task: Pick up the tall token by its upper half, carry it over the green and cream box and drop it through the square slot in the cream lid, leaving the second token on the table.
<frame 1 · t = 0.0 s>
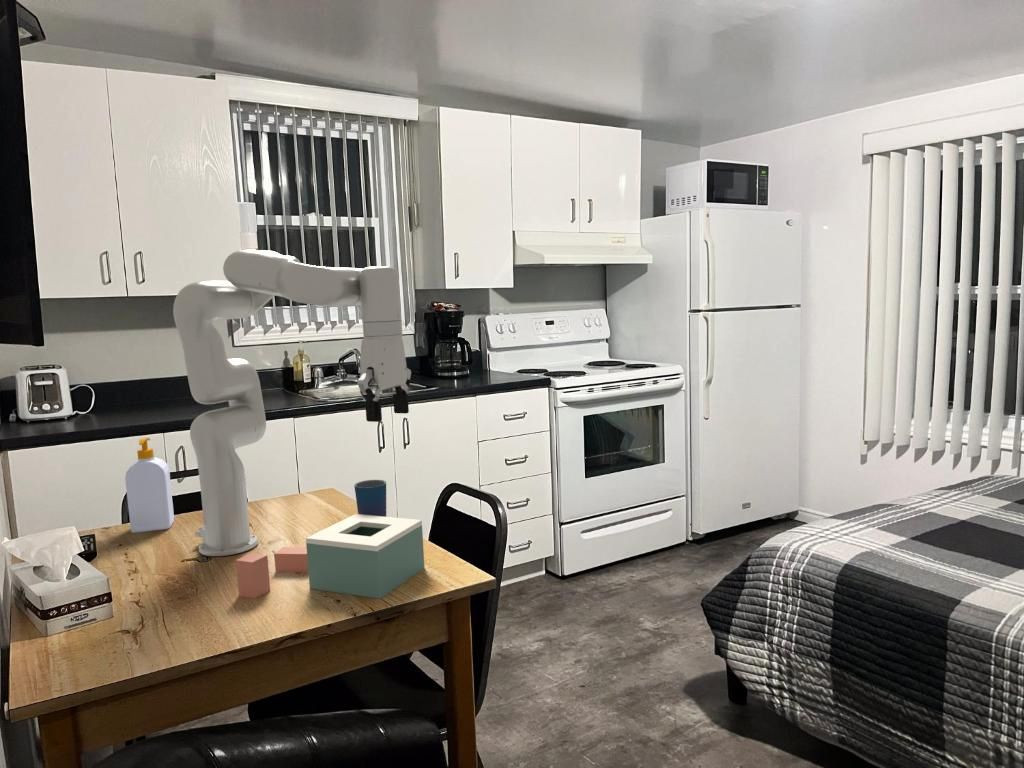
hand: (388, 417, 145), 31 cm above the table, fingers open, 9 cm apart
soap bottle: (153, 528, 185), on the table
green and cream box: (368, 577, 145), on the table
token: (254, 593, 140), on the table
cup: (374, 551, 161), on the table
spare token: (296, 569, 152), on the table
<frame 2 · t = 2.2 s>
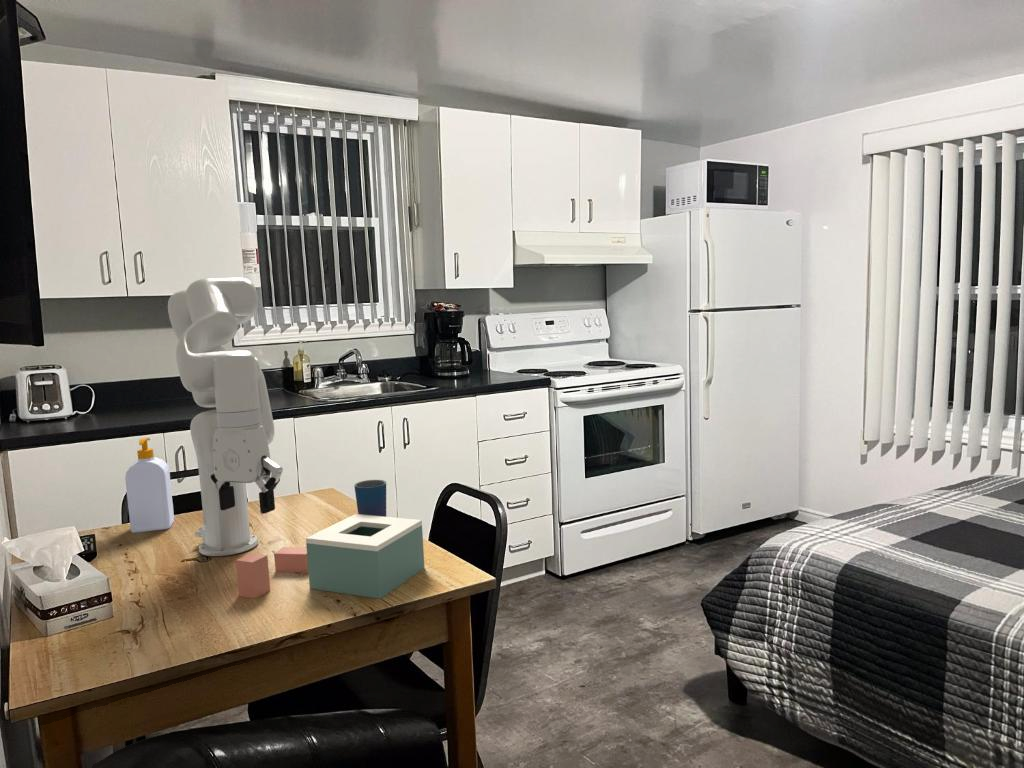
hand: (247, 510, 138), 16 cm above the table, fingers open, 9 cm apart
nothing on the table moved.
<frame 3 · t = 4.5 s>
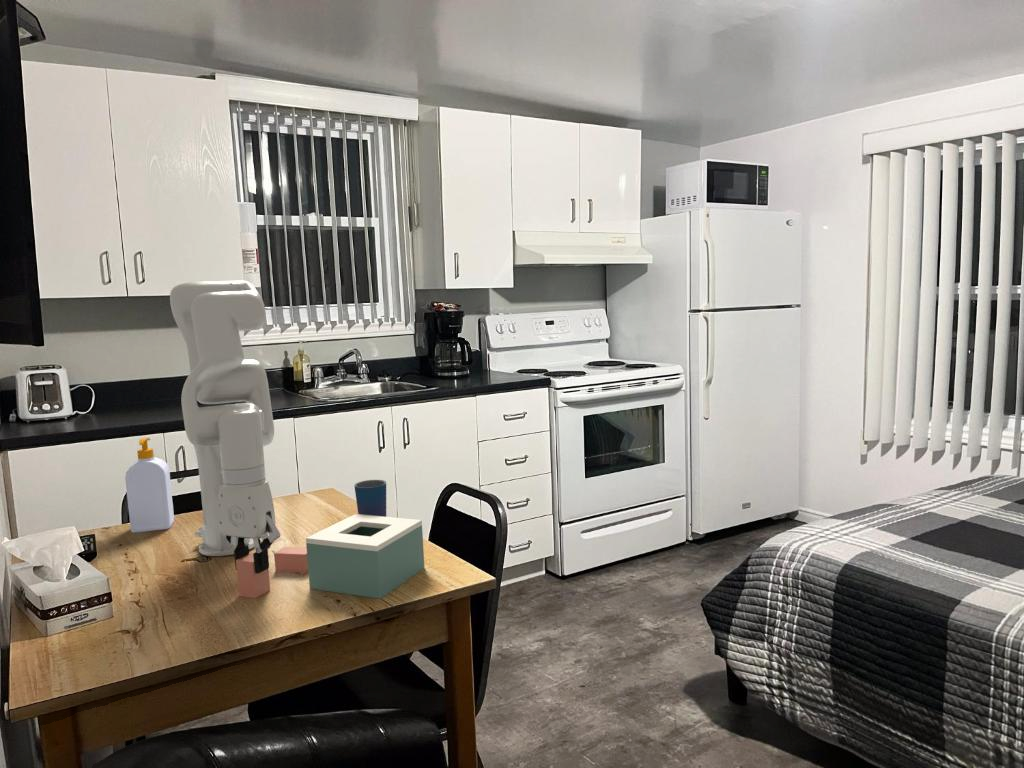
hand: (252, 568, 139), 5 cm above the table, fingers closed on token, 4 cm apart
token: (254, 593, 140), on the table, touching gripper
everything else where it was.
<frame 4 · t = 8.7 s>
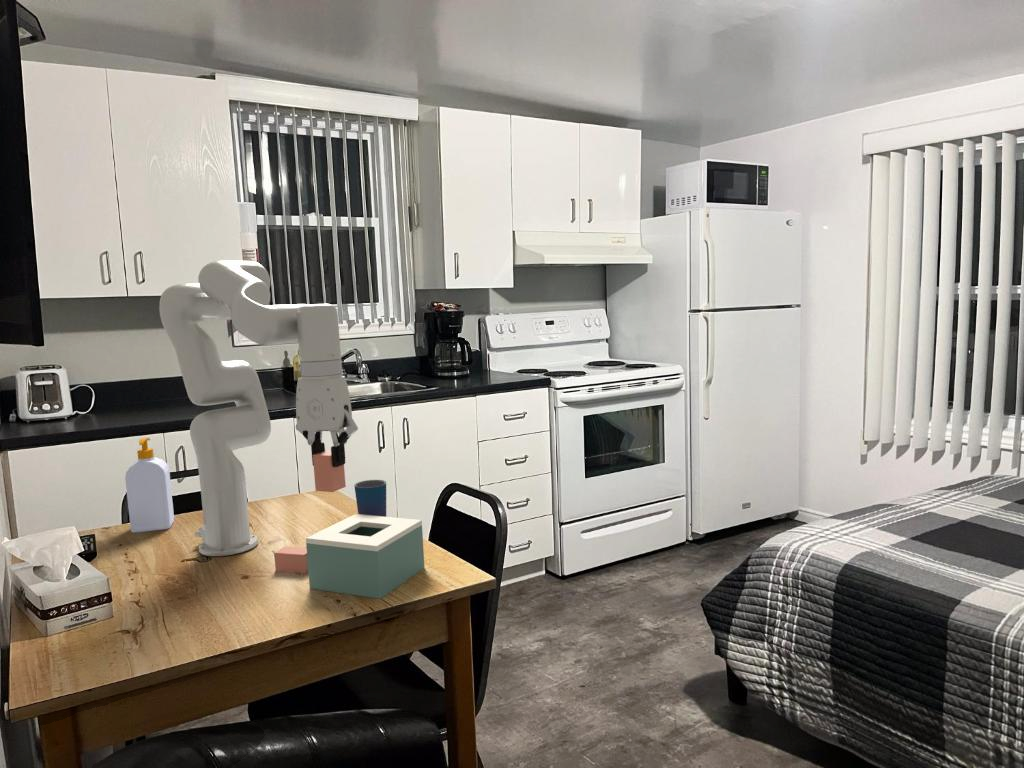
hand: (329, 464, 141), 24 cm above the table, fingers closed on token, 4 cm apart
token: (330, 488, 141), point 19 cm above the table, touching gripper
everything else where it was.
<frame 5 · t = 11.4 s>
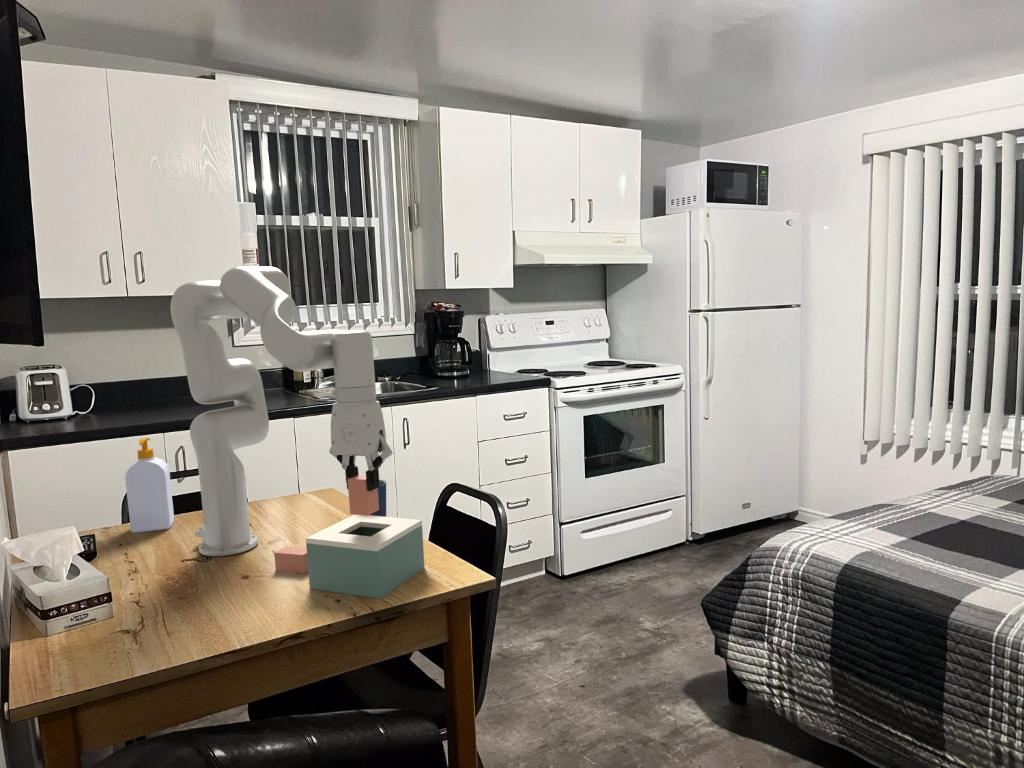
hand: (363, 487, 143), 18 cm above the table, fingers closed on token, 4 cm apart
token: (364, 511, 143), point 13 cm above the table, touching gripper
everything else where it was.
when the fingers open (16 cm above the table, at t = 13.2 s): token drops 9 cm and tips over, resting on green and cream box.
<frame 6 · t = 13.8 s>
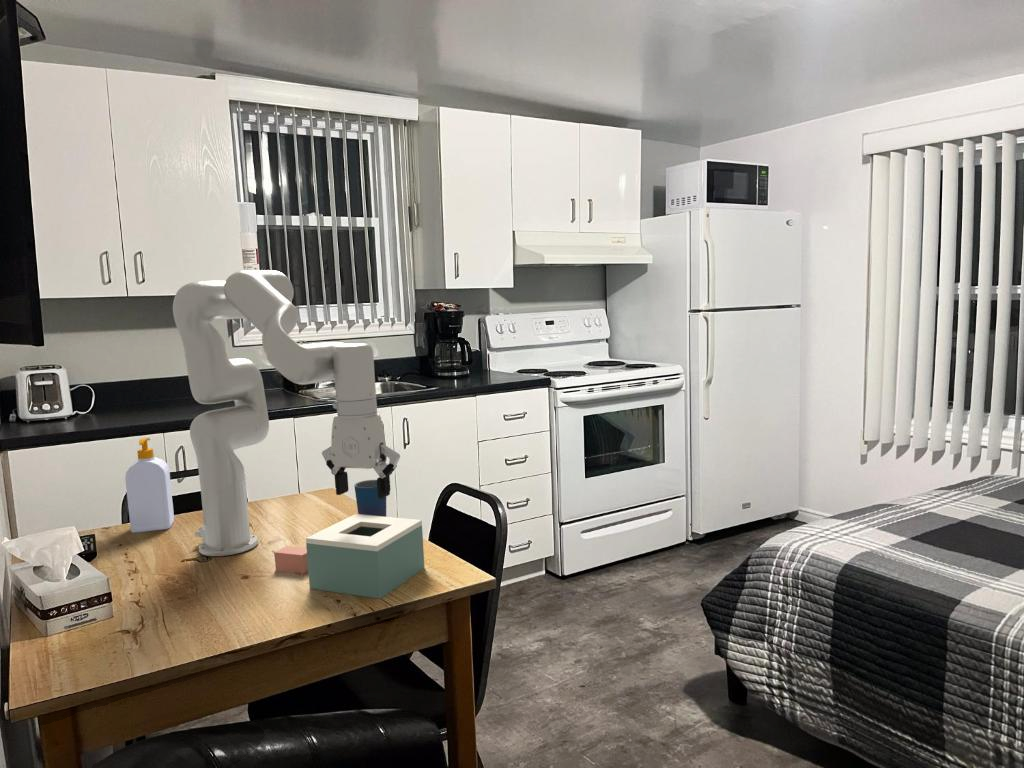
hand: (363, 494, 143), 17 cm above the table, fingers open, 9 cm apart
token: (371, 568, 144), point 2 cm above the table, tilted 44°, touching green and cream box
everything else where it was.
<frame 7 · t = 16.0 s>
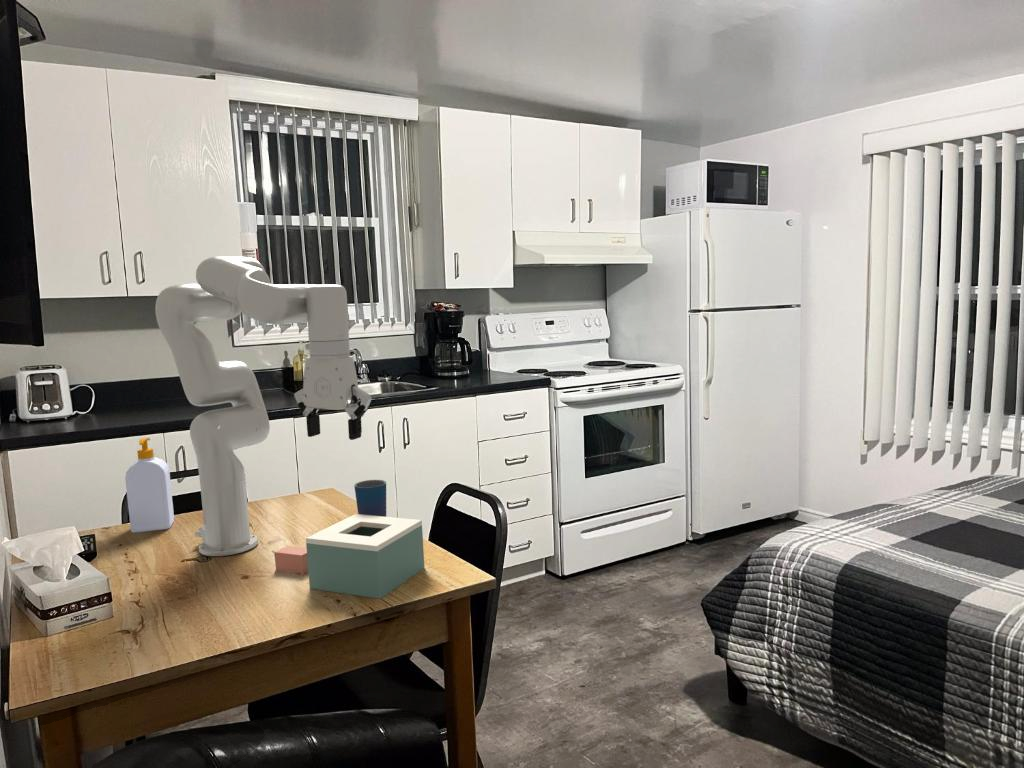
hand: (334, 437, 143), 28 cm above the table, fingers open, 9 cm apart
nothing on the table moved.
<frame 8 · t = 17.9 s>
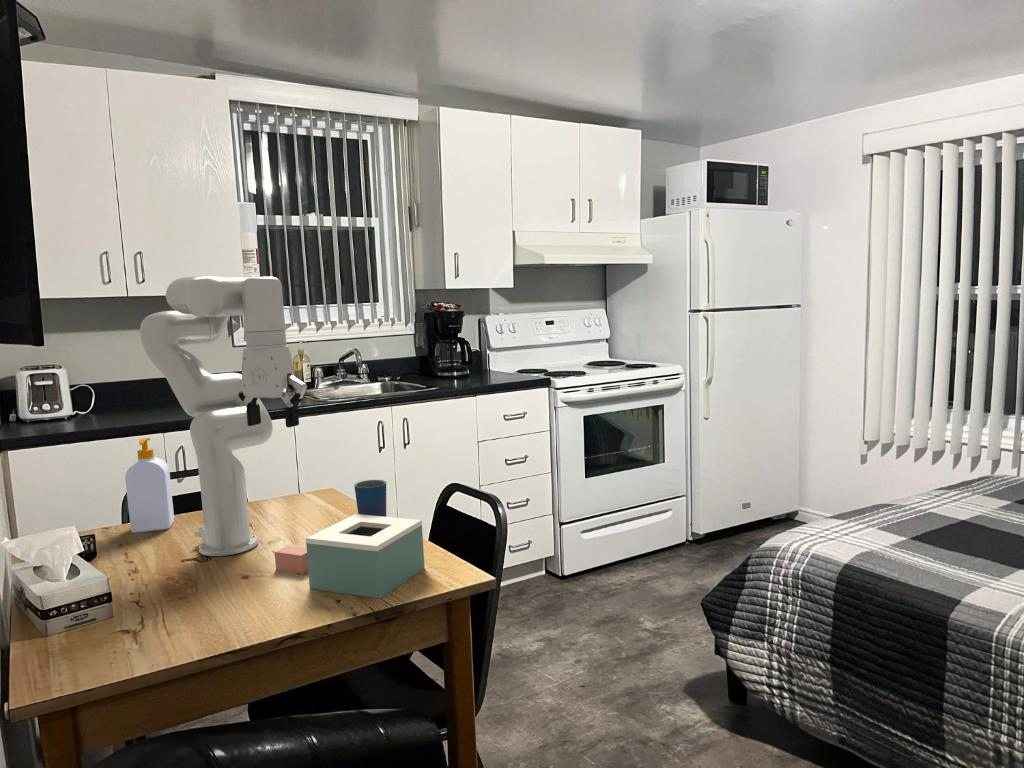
hand: (273, 425, 147), 30 cm above the table, fingers open, 9 cm apart
nothing on the table moved.
at the end: token inside the target area on the green and cream box (0.8 cm from its centre), point 2.0 cm above the green and cream box's base; the gripper is holding nothing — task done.
